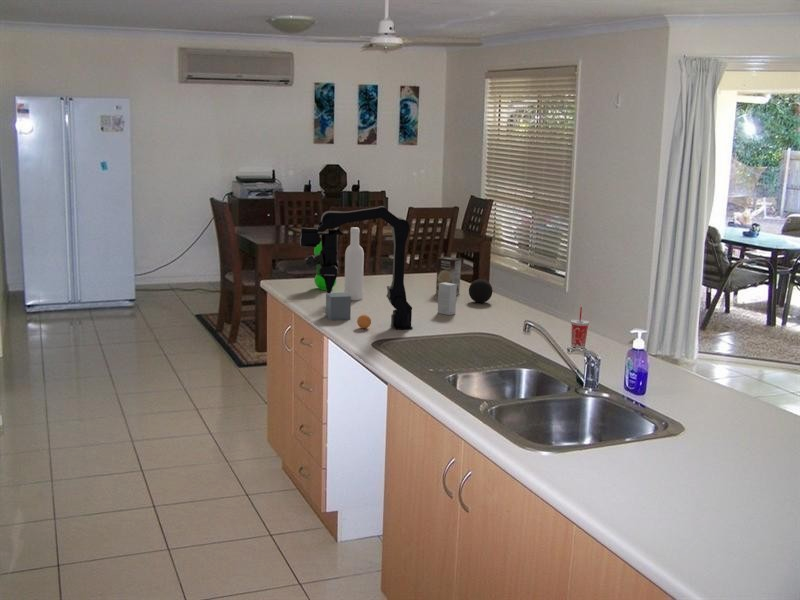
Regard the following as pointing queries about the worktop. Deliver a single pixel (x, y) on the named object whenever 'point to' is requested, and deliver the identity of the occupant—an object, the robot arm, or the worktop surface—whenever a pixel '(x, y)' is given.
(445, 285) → the skincare box
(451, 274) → the coffee box
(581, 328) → the beverage cup
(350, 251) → the bottle
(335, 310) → the grey block
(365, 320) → the ball
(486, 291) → the speaker
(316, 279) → the plastic bottle
